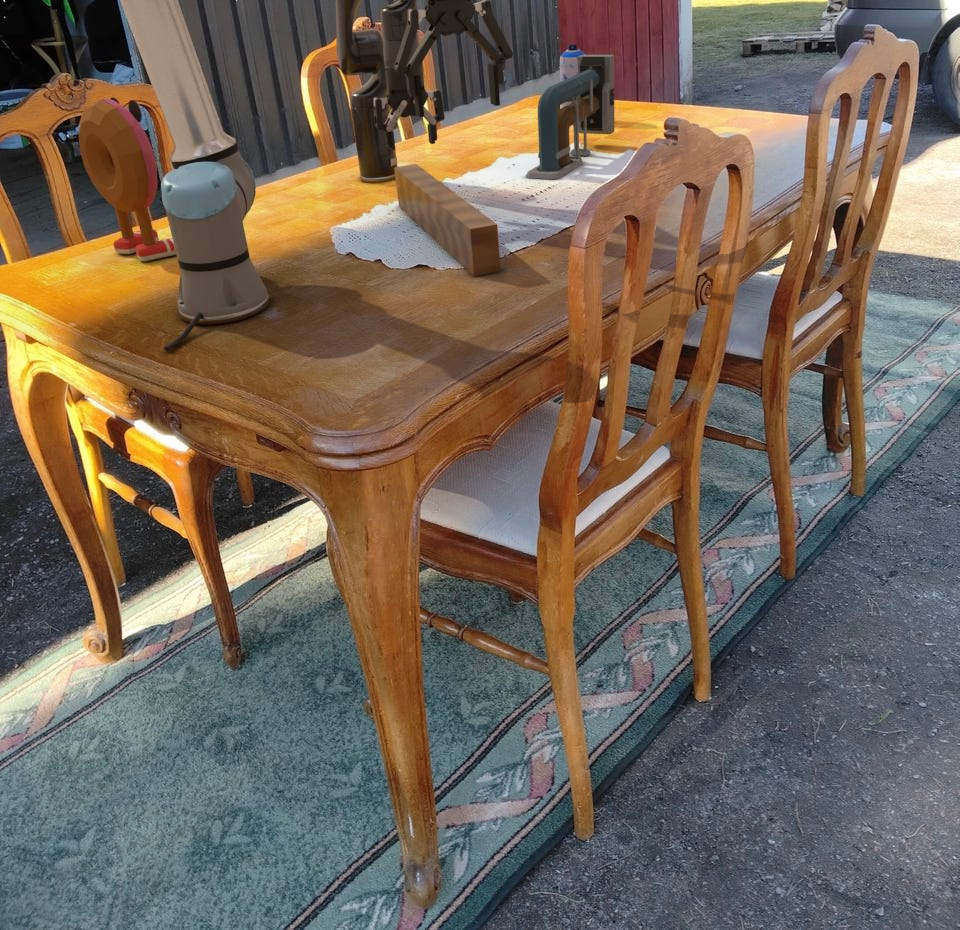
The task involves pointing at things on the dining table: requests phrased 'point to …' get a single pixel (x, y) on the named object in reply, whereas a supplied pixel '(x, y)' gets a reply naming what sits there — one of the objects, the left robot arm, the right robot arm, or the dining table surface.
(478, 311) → the dining table surface
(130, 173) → the toy
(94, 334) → the dining table surface
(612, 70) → the clamp
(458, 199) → the beam
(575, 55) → the aerosol can
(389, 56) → the right robot arm
